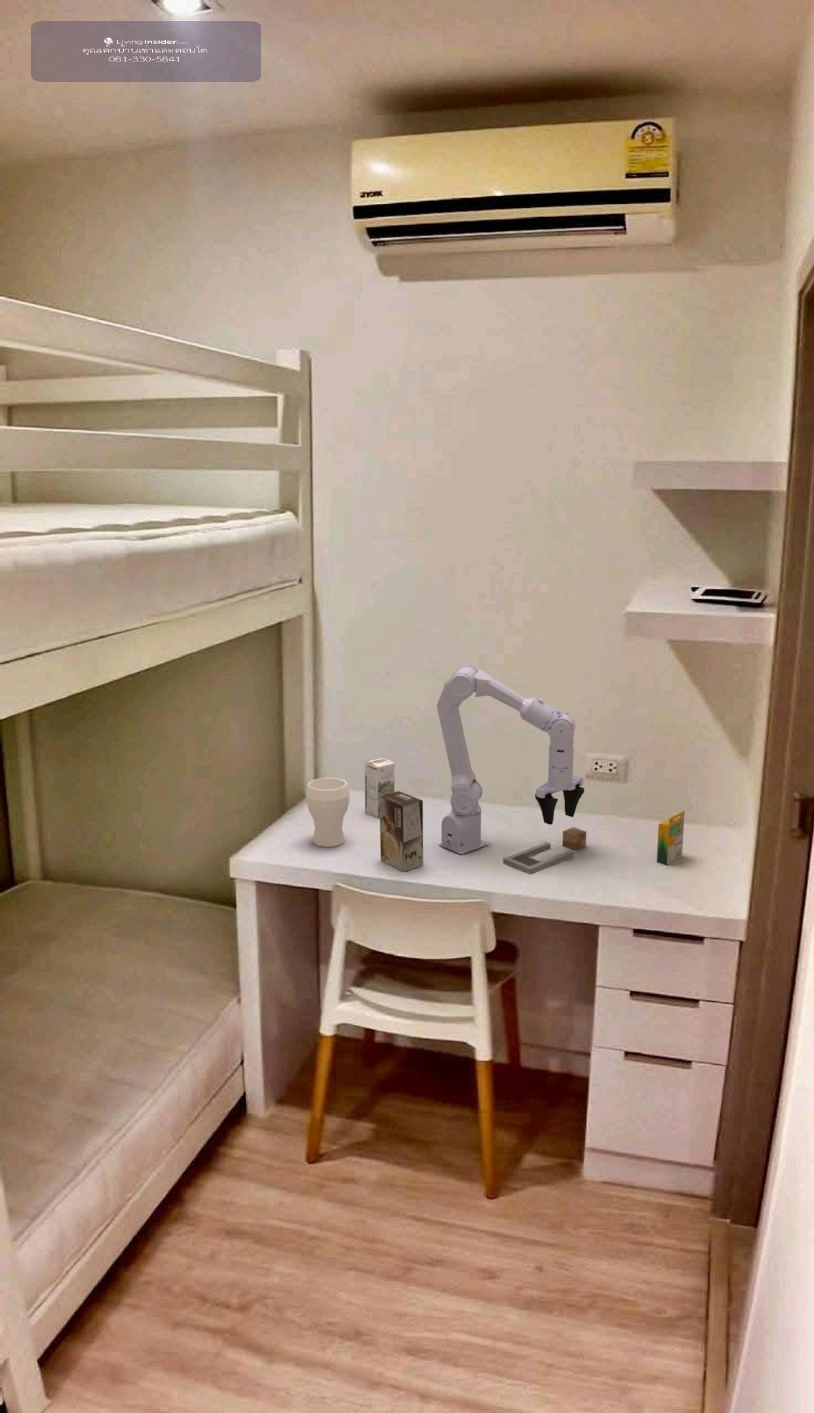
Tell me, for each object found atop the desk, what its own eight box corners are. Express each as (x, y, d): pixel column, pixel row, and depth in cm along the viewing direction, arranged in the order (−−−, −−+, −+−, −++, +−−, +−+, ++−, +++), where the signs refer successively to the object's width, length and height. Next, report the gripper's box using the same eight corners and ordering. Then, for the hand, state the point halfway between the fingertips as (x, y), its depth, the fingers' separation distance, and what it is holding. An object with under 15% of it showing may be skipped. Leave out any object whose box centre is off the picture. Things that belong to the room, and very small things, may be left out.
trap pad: (532, 868, 232) (532, 867, 232) (516, 862, 236) (516, 860, 236) (543, 864, 235) (543, 862, 234) (528, 857, 238) (528, 856, 238)
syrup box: (381, 808, 272) (380, 756, 268) (395, 813, 267) (394, 761, 264) (364, 812, 268) (363, 761, 265) (378, 818, 264) (377, 766, 260)
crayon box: (671, 853, 241) (674, 807, 238) (682, 856, 239) (685, 810, 236) (655, 862, 236) (658, 815, 233) (667, 865, 234) (670, 818, 231)
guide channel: (529, 874, 229) (529, 869, 229) (503, 862, 235) (503, 858, 235) (573, 856, 239) (573, 852, 238) (546, 846, 245) (546, 842, 245)
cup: (306, 849, 243) (304, 791, 240) (308, 833, 254) (307, 777, 250) (349, 849, 244) (348, 790, 240) (350, 833, 254) (349, 776, 250)
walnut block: (574, 851, 242) (575, 835, 241) (562, 846, 245) (562, 830, 244) (585, 846, 245) (586, 831, 244) (573, 842, 248) (573, 827, 247)
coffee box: (424, 865, 234) (424, 800, 230) (403, 872, 230) (403, 806, 226) (399, 853, 241) (399, 790, 237) (378, 860, 237) (378, 796, 233)
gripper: (553, 775, 228) (551, 831, 232) (594, 762, 237) (591, 816, 241) (530, 768, 233) (528, 823, 237) (571, 756, 243) (569, 809, 246)
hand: (558, 819), depth 239 cm, fingers open, 7 cm apart
